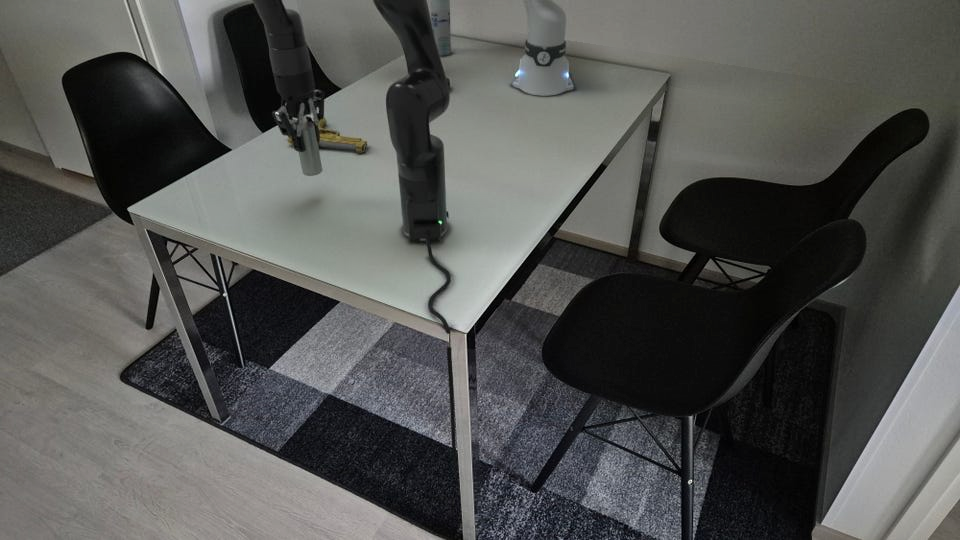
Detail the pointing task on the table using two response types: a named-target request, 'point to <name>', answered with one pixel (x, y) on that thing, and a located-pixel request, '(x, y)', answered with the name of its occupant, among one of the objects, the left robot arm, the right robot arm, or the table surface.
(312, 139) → the can
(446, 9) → the spray paint can
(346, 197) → the table surface
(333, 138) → the handgun
